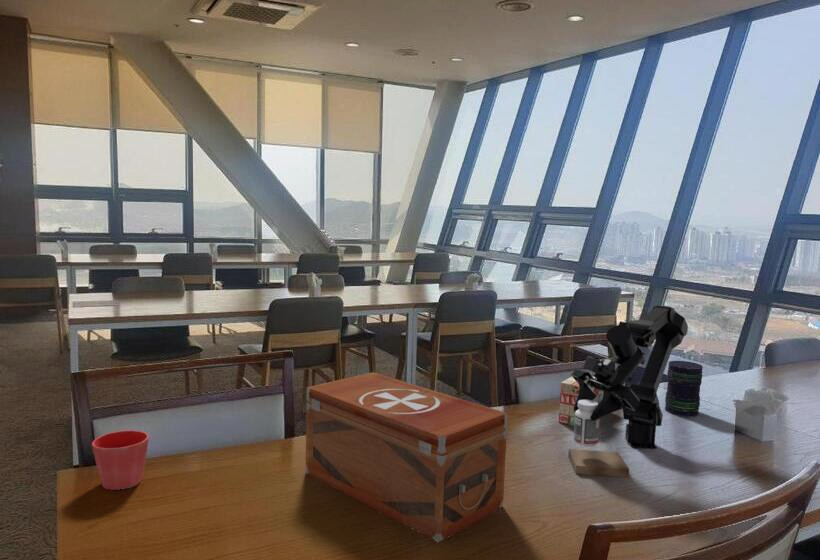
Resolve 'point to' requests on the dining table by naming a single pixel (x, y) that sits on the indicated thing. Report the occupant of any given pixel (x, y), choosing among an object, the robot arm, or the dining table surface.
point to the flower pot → (120, 458)
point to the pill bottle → (586, 424)
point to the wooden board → (598, 463)
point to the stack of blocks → (572, 400)
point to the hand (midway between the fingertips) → (582, 415)
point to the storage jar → (683, 388)
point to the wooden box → (407, 451)
